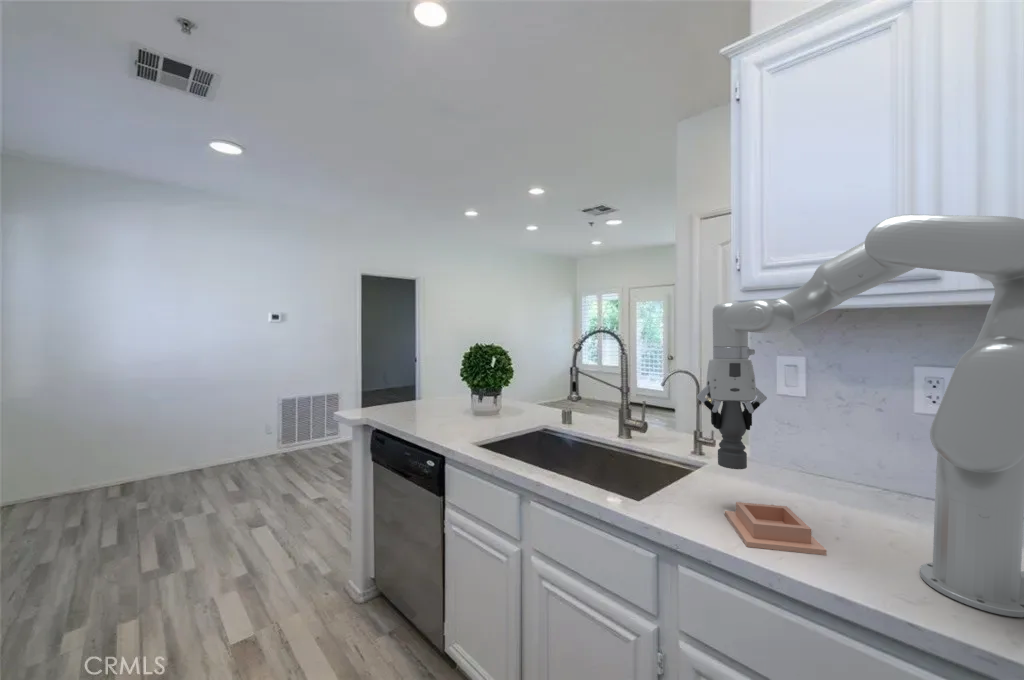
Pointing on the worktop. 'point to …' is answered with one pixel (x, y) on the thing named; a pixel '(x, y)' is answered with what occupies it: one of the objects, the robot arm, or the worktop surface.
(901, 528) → the worktop surface
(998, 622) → the worktop surface
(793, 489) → the worktop surface
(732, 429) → the candle holder
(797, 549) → the square tray
